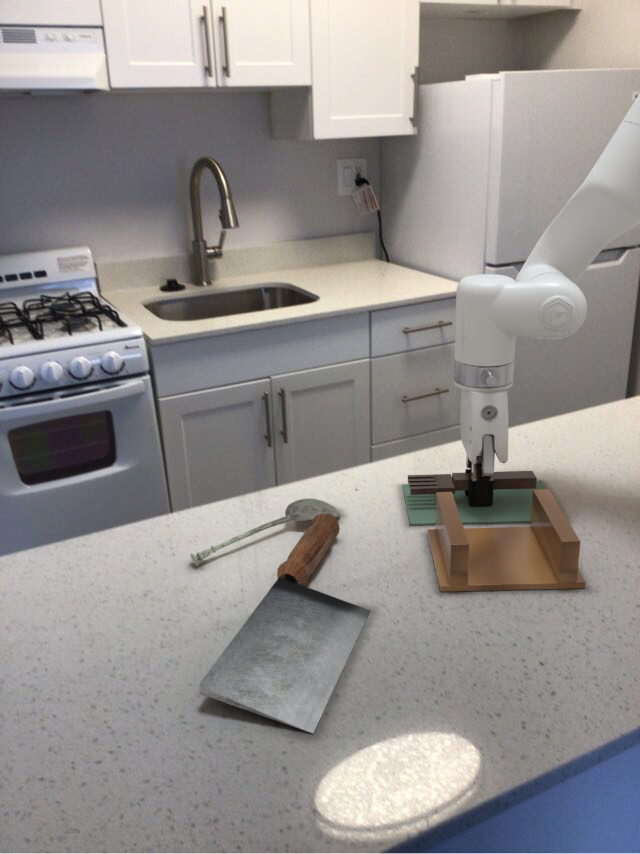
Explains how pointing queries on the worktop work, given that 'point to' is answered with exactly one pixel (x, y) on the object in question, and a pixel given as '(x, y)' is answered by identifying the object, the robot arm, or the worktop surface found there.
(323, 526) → the meat cleaver
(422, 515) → the mat
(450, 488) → the fork
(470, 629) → the worktop surface
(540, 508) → the rack
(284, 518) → the soupspoon
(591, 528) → the worktop surface
